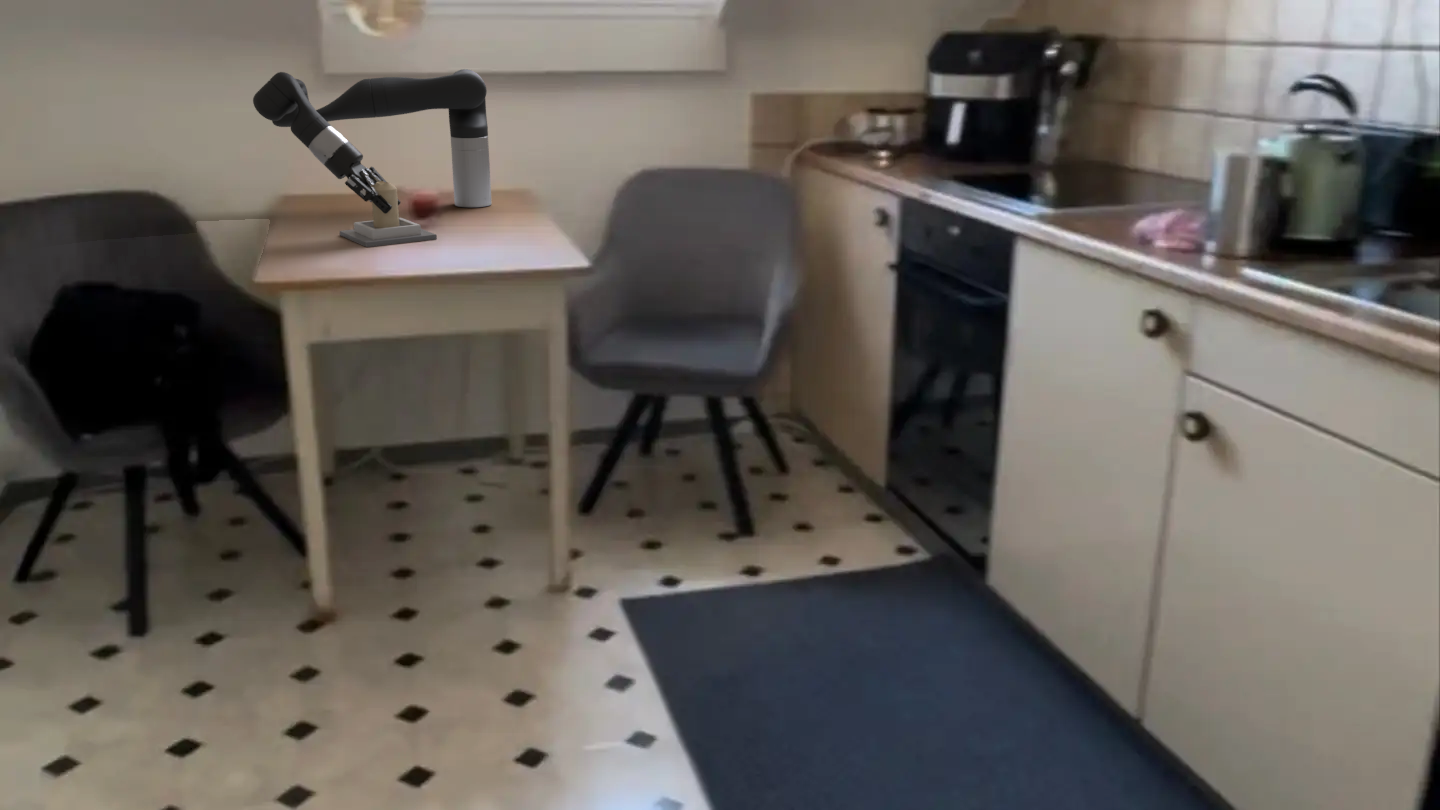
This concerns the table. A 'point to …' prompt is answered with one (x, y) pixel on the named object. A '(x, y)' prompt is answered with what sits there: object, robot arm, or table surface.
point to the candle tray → (387, 233)
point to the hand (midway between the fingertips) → (393, 208)
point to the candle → (390, 196)
